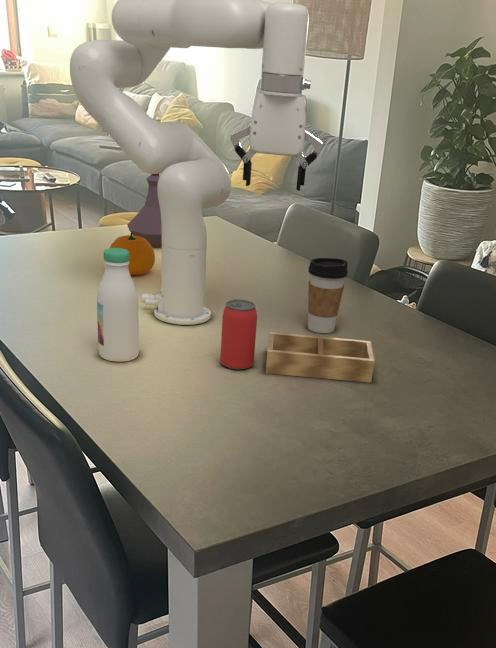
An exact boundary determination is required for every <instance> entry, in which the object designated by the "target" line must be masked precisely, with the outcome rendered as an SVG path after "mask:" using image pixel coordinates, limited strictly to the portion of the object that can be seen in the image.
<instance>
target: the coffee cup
mask: <svg viewBox="0 0 496 648" xmlns="http://www.w3.org/2000/svg"><path fill="white" fill-rule="evenodd" d="M348 264H349V263H348V261H347V260H346V259H344V258H343V259H342V258H336V257H316V258H313V259H311V260H310V262H309V266H308V270H307V272H308V273H309V280H308V293H307V295H308V299H307V301H308V302H307V303H308V304H307V315H308V316H307V329H308V330H309V331H311V332H314V333H318V334H330V333H332V332H334V331H335V327H336V323H337V318H338V314H339V310H340V305H341V301H342V297H343V293H344V288H345V280H346V277H347V276H348V273H349V271H348Z"/></svg>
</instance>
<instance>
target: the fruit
mask: <svg viewBox="0 0 496 648" xmlns="http://www.w3.org/2000/svg"><path fill="white" fill-rule="evenodd" d="M109 248H122V249H126V250H128V251H129V264H128V269H129V273H130V276H141V275H145V274H147V273H149V272H150V271H151V270H152V269H153V267H154V265H155V262H156V254H155V251H154V247H152V246H151V245H150V243H149V242H148V241H147V240H146V239H144V238H142V237H139V236H134V235H133V232H130V234H129V235H128V234H127V235H122V236H118V237H117V238H116V239H115V240H114V241H113V242H111V244H110V246H109Z"/></svg>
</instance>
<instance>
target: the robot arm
mask: <svg viewBox="0 0 496 648" xmlns="http://www.w3.org/2000/svg"><path fill="white" fill-rule="evenodd" d="M309 19H310V14H309V10H308V7H306V6H305V5H303V4H299V3H291V2H278V1H277V2H271V1H266V0H117V1H116V2H115V3H114V5H113V6H112V10H111V24H112V28H113V30H114V31H115V33H116V35H117V36H118V38H120V39H119V40H118V39H117V40H116V39H92V40H88V41H84V42H83V43H81V44H79V45H78V46H77V47H75V48H74V50H73V52H72V53H71V56H70V60H69V77H70V82H71V85H72V89H73V91H74V95H75V96H76V98H77V100H78V102H79V104H80V105H81V106H82V107H83V109H84V111H85V112H86V113H88V115H89V116H90V117H91V118H92V119H93V120H94V121H95V122H96V123H97V124H98V125H99V126H100V127H101V128H102V129H103V130H104V131H105V132H106V133H107V134H108V135H109V136H110V137H111V139H112V140H113V141H114V142H115V143H116V145H118V147H119V148H120V149H121V150H122V151H123V152H124V153H125V155H126V156H127V157H128V158H129V159H130V160H131V161H132V163H133V164H134V165H136V166H137V168H138V169H139V170H141V171H142V172H143V173H146V174H149V175H151V174H158V173H159V176H160V177H159V180H158V185H157V193H158V200H159V206H160V212H161V225H162V247H161V274H160V275H161V276H160V277H161V280H160V281H161V283H160V284H161V287H160V288H161V290H160V293H158V292H157V293H156V294H151V293H143V292H142V293H141V303H144V305H145V306H154V310H153V315H154V317H155V318H156V319H157V320H160V321H162V322H163V323H167V324H173V325H179V326H180V325H181V326H192V325H199V324H203V323H206V322H208V321H209V320H211V317H212V311H211V310H210V309H209V308H208V307H207V306H205V297H206V295H205V294H206V269H207V268H206V267H207V248H208V247H207V245H208V233H207V226H206V222H205V220H204V216H203V211H202V210H206V209H211V208H215V207H217V206H219V205H221V204H223V203H224V202H226V200H227V199H228V198H229V196H230V195H231V191H232V179H231V178H232V177H231V176H230V175H231V174H230V173H229V170H228V169H227V167H226V165H225V164H224V163H223V161H222V160H221V159H220V158H219V157H218V155H216V154H215V152H214V151H213V150H212V149H211V148H210V147H209V146H208V145H207V144H206V142H205V141H204V140H203V139H202V138H201V137H200V136H199V135H198V134H197V133H196V131H195V130H193V129H192V128H191V127H190V126H188V125H186V124H185V123H182V122H179V121H173V120H172V121H157V120H155V119H153V118H152V117H151V116H150V115H149V114H148V113H147V112H146V111H145V110H144V109H143V107H142V106H141V105H140V104H139V103H138V102H137V101H136V100H135V99H134V98H132V97H131V96H130V95H128V94H126V93H125V92H123V91H122V90H120V89H125V88H126V89H128V88H134V87H138V86H140V85H142V84H143V83H144V82H145V81H147V79H148V78H149V77H150V75H151V74H152V73H153V72H154V70H155V69H156V68H157V67H158V65H159V64H160V62H162V60H164V58H165V56H166V55H167V53H168V52H169V50H170V49H172V48H173V49H174V48H175V49H189V48H190V47H202V48H203V47H205V48H220V49H247V50H248V49H249V50H260V49H262V57H261V58H262V59H261V70H260V71H261V73H260V85H259V86H260V87H259V90H258V91H256V92H255V95H254V100H253V105H252V110H251V119H250V125H248V126H246V127H244V128H242V129H239V130H238V131H236V132H233V133H232V134H231V135H230V137H229V138H230V141H231V145H232V147H233V148H234V151H235V154H237V156H238V157H239V158H240V160H241V161H242V162H243V170H242V181H245V187H249V186H251V180H252V178H251V177H252V167H253V166H252V165H253V162H252V159H253V157H254V156H255V155H256V154H262V155H263V154H264V155H274V156H283V157H285V156H286V157H295V159H296V160H297V161H298V163H299V165H298V167H297V177H296V186H295V187H296V188H295V189H296V190H295V191H298V192H300V191H301V186H303V187H304V186H305V180H306V172H307V168H308V166H310V165H311V164H312V163H313V162H314V161H316V160H317V158H318V156H319V154H320V153H321V151H322V149H323V148H324V142H322V140H320V139H319V138H317V137H315V136H314V135H313V134H311V133H310V132H309V131H307V130H306V126H307V125H306V124H307V100H306V99H307V98H306V95H304V94H303V91H304V90H310V89H311V86H312V85H311V84H312V80H308V79H306V78H305V77H304V72H305V61H306V53H307V42H308V31H309V21H310V20H309ZM247 136H249V141H248V142H249V144H248V146H249V148H248V150H247V151H246V150H245V149H244V148H243V147H242V145H241V142H240V140H241V139H243V138H245V137H247ZM305 141H306V142H308V143H309V144H310V145H312V146H313V149H312V150H311V152H310V153H309V154H308V155H307V156H306V155H304V152H303V151H304V147H305Z"/></svg>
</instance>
